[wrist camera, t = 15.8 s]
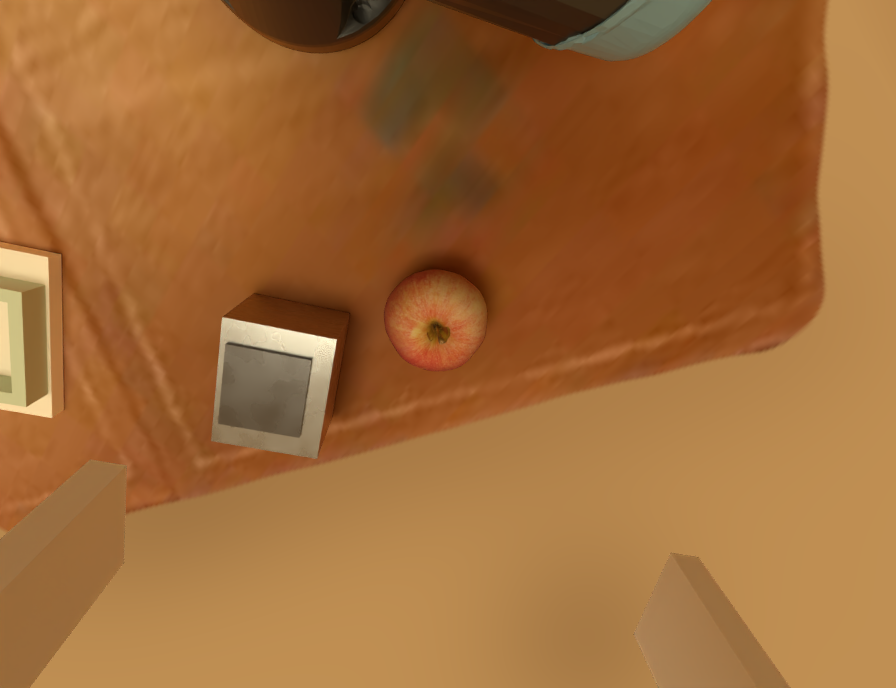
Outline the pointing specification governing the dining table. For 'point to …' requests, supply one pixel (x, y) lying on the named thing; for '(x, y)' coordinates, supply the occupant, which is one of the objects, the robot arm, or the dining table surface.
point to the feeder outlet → (278, 375)
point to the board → (31, 331)
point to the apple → (436, 319)
